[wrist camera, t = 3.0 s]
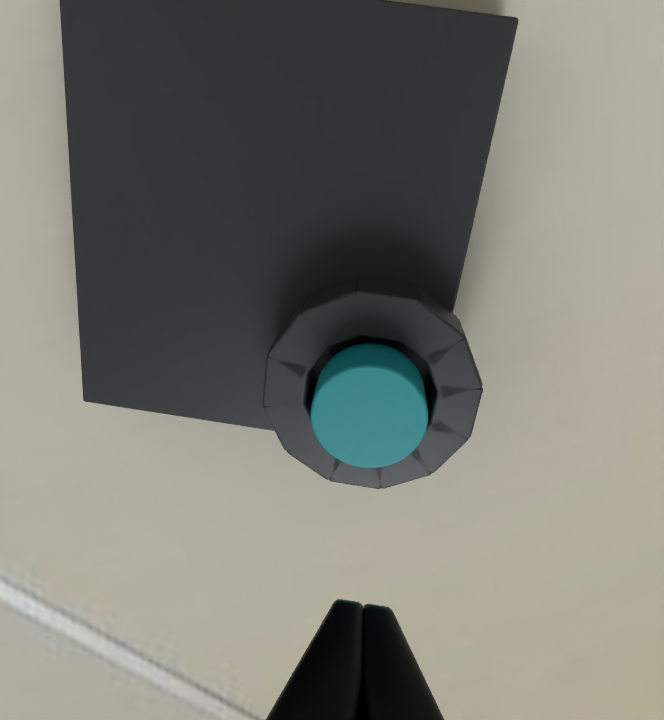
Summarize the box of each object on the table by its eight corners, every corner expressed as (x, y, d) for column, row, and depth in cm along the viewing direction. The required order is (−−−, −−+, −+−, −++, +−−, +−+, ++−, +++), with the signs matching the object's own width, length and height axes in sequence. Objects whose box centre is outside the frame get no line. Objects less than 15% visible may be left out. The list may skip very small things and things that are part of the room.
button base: (442, 439, 20) (454, 501, 16) (109, 388, 20) (57, 439, 17) (539, 34, 15) (583, 10, 11) (93, -25, 15) (15, -65, 12)
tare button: (413, 445, 16) (416, 477, 15) (311, 430, 16) (304, 459, 15) (434, 351, 15) (439, 375, 14) (323, 334, 15) (317, 356, 14)
